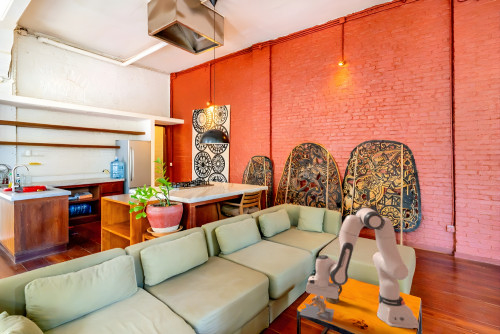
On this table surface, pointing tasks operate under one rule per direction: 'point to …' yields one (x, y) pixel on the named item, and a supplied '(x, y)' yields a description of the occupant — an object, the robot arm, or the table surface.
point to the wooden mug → (334, 299)
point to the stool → (320, 305)
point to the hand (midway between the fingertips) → (321, 301)
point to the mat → (314, 310)
